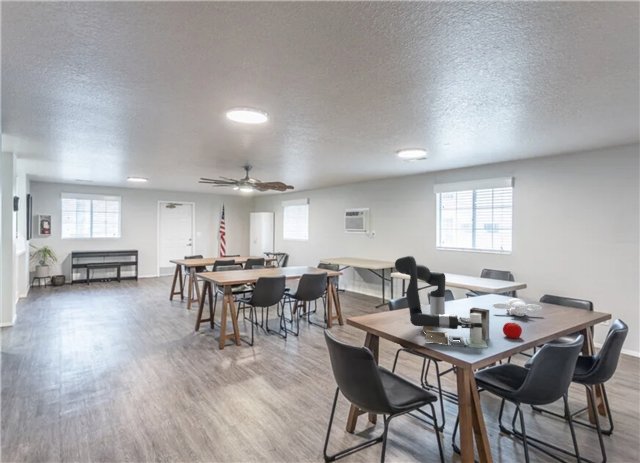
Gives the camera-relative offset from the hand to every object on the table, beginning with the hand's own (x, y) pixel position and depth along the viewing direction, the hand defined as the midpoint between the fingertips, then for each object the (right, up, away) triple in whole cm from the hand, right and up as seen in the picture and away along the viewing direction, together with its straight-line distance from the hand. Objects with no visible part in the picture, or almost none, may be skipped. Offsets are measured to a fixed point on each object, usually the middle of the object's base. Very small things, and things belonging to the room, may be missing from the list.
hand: (481, 323), depth 185 cm
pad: (-2, -11, +1) cm, 11 cm away
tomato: (+24, -11, +12) cm, 29 cm away
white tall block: (-2, -10, +1) cm, 10 cm away
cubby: (-22, -11, +7) cm, 26 cm away
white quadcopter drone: (+57, -12, +68) cm, 89 cm away
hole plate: (-12, -11, +4) cm, 16 cm away
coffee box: (+5, -11, +12) cm, 17 cm away
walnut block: (-22, -11, +21) cm, 33 cm away
